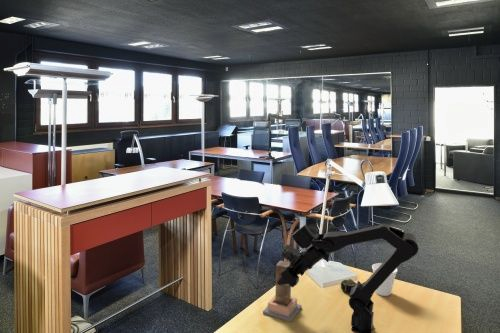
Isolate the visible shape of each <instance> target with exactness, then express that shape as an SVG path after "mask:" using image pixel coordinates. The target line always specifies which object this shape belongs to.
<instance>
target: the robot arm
mask: <svg viewBox="0 0 500 333" xmlns="http://www.w3.org/2000/svg"><path fill="white" fill-rule="evenodd" d="M290 238H292V239H293V240H294V242H295V243H296V244H297V246H298V247H300V249H306V250H301V252H300V251H298V249H296V248H294V247H293V246H292V245H290V244H286V245H285V246H284V248H283V250H282V252H281V253H280V256H281V258H284V259H285V260H287V261H288V262H290V264H291V267H286V268H285V269H284V270H283V271H282V273H281V275H282V277H281V278H280V280H279V281H278V282H277V284H278V285H283V284H289V285H290V286H291V288H294V287H295V286H297V285H298V283H299V281H300V276H303V275H304V274H305V273H306V272H307V271H308V270H311V269H313V267H314V266H315V265H316V264H318V263H319V262H320V261H321V260H323V259H324V260H325V261H326V262H327V263H329V261H330V260H331V253H334V252H337V251H339V250H342V249H343V248H345V247H348V246H351V245H355V244H361V243H366V242H370V241H375V240H380V239H382V240H384V241H385V242H387V243H388V244H389V245H391V246H392V247H393V249H392V251H391V253H390V254H389V255H388V256H387V258H385V259H384V261H383V262H381V263H382V264H381V265H380V266H379V267H378V269H377V270H376V271H375V272H374V273H372V274H371V275H370V276H369V278H367V280H366V281H364V282H360V280H357V282H356V285H355V286H354V287H352V289H351V292H350V293H349V299H348V305H349V308H351V309H352V311H353V312H352V314H351V320H350V326H351V331H353V332H355V333H373V330H374V315H375V314H374V311H373V310H374V301H373V300H372V297H373V295H374V293H376V292H375V291H376V290H377V289H378V288H379V286H380V285H381V284H382V283H383V282H384V281H385V280H386V279H387V278H388V277H389V276H390V275H391V274H392V272H393V271H394V270H395V269H396V268H397V269H398V267H399V266H400V265H401V264H403V263H405V262H407V261H410V260H411V259H412V258H413V257H415V256H416V255H417V254H418V252H419V241H418V238H417V237H416V236H415V235H414V234H412V233H406V232H404V231H403V230H401V229H397V228H395V227H393V226H390V225H389V224H386V223H381V224H379V225H378V224H377V225H373V226H369V227H364V228H360V229H355V230H350V231H327V232H325V233H316V234H314V233H313V232H312V230H310V229H309V227H308V225H307V224H304V225H303V226H301V227H299V228H298V229H296V230H295V231H294V232H293V233H292V234H291V235H290ZM299 275H300V276H299Z"/></svg>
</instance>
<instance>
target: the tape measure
mask: <svg viewBox="0 0 500 333" xmlns="http://www.w3.org/2000/svg"><path fill="white" fill-rule="evenodd" d="M356 284H357V282H355V281H354V280H352V279H351V278H349V279H343V280H341V283H340V289H341V290H342V291H343V292H345V293H348V294H350V292H351V289H352V287H354V286H355V285H356Z"/></svg>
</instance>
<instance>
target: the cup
mask: <svg viewBox="0 0 500 333" xmlns="http://www.w3.org/2000/svg"><path fill="white" fill-rule="evenodd" d="M382 263H383V262H379V263H378V262H377V263H373V264H372V265H371V268H372V272H373V273H374V272H375V271H376V270H377V269H378V267H379V266H380V265H381V264H382ZM373 273H372V274H373ZM397 273H398V267H397V268H396V269H395V270H394V271H393V272H392V274H391V275H390V276H389V277H388V278H387V279H386V280H385V281H384V282H383V283H382V284H381V285H380V286H379V288H378V289H377V290H376V291H375V292H374V293H376V294H377V295H379V296H382V297H388V296H390V295H391V293H392V290H393V287H394V283H395V279H396V276H397Z"/></svg>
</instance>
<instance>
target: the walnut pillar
mask: <svg viewBox="0 0 500 333" xmlns="http://www.w3.org/2000/svg"><path fill="white" fill-rule="evenodd" d="M286 267H291V264H290V261H284V260H279V261H278V262H277V263H276V265H275V295H276V299H275V301H279V302H284V303H287V302H288V301H289V299H290V297H292V294H291V292H292V291H291V290H292V287H291V286H290V285H289V284H283V285H278V284H277V282H278V281H279V280H280V278H281V277H282V275H281V273H282V271H283V270H284V269H285V268H286Z"/></svg>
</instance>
